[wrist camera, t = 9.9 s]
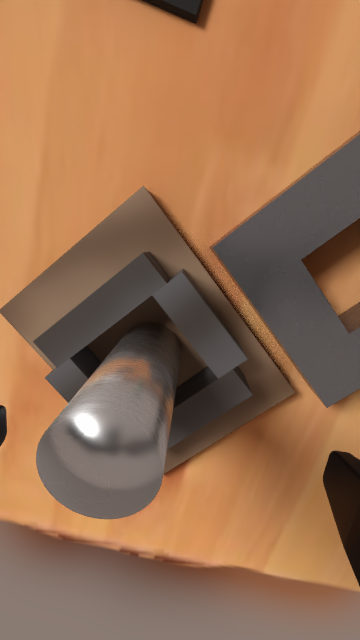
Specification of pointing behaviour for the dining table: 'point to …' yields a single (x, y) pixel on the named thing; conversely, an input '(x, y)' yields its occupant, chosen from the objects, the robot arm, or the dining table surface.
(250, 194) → the dining table surface
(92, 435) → the steel peg
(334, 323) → the socket block
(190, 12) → the calculator
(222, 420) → the rack board
